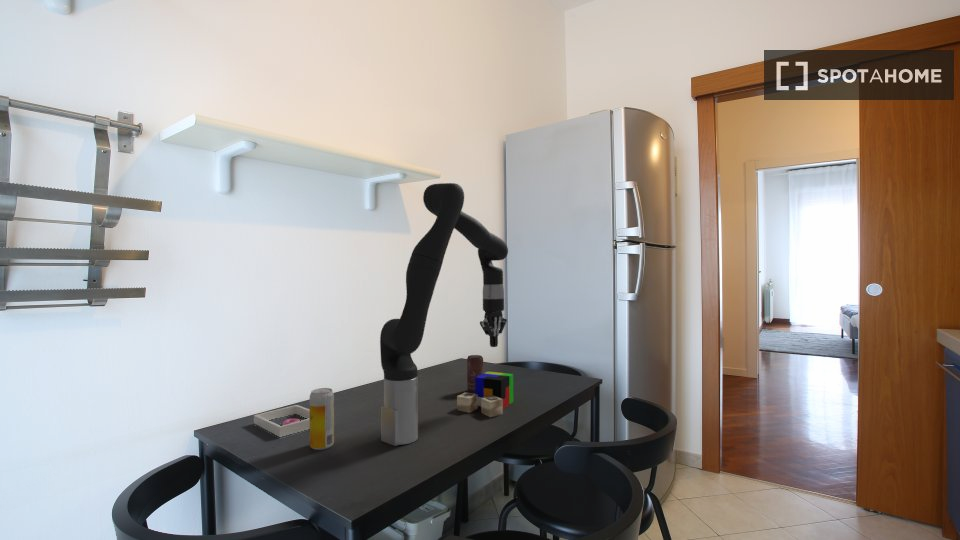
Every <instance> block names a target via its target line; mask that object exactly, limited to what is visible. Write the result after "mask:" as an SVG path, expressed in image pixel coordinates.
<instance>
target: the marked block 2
mask: <svg viewBox="0 0 960 540" xmlns="http://www.w3.org/2000/svg"><path fill="white" fill-rule="evenodd" d="M480 407H481V409H480V410H481V411H480V412H481V414H483V415H485V416H487V417H489V418H494V417H498V416H501V415H502V416H503V414H504V408H503V399H501V398H498V397H495V396H490V397H485V398H481V406H480Z"/></svg>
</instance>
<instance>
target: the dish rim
mask: <svg viewBox="0 0 960 540" xmlns="http://www.w3.org/2000/svg"><path fill="white" fill-rule="evenodd" d="M293 414H298V415H300V416H299V417H301V416H302V417H301V418H303V417H304V418H303V419H300V420H301V421H298V422H294V423H290V424H287V425H282V426H280V425H279V424H277V423H276V422H275V421H269V420H271V419H275V418H280V417H284V416H288V415H292V416H294V415H293ZM298 415H297V416H298ZM288 417H289V416H288ZM284 418H285V417H284ZM305 418H307V419H305ZM254 423H255V424H257V425H259V426H261V427H262V428H264V429H266V430H268V431H270V432H272V433H274V434H275V435H277V436H279V437H282V436H286V435H289V434H293V433H297V432H300V433H302V432H301V431H303V432H305V431H304V430H307V431H309V430H308V429H310V408H307V407H304V406H301V405H298V404H294V405H290V406H287V407H282V408H278V409H274V410H271V411H266V412H262V413H257V414H254V415H253V424H254ZM297 434H298V433H297ZM293 435H294V434H293Z"/></svg>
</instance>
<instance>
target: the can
mask: <svg viewBox="0 0 960 540" xmlns="http://www.w3.org/2000/svg"><path fill="white" fill-rule="evenodd" d="M481 374H484V358H483V355H480V354H479V355H478V354H471V355H468V356H467V359H466V380H467V381H466V383H467V384H466V385H467V387H466V391H467V393H471V394H475V377H477V376H479V375H481Z"/></svg>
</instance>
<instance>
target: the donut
mask: <svg viewBox="0 0 960 540" xmlns="http://www.w3.org/2000/svg"><path fill="white" fill-rule="evenodd" d="M300 420H301V419H299V418H287V419H285V420H284V421H283V422H282V423H283V425H287V424H290V423H294V422H298V421H300ZM283 425H282V426H283Z"/></svg>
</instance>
